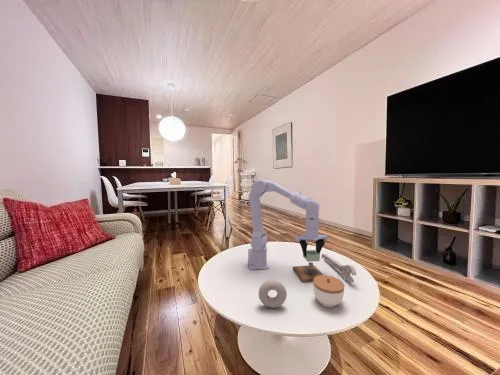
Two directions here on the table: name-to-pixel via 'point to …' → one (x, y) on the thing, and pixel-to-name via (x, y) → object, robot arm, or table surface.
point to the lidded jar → (328, 290)
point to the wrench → (341, 268)
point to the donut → (272, 301)
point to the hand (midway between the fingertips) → (311, 255)
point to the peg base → (306, 272)
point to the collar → (312, 256)
